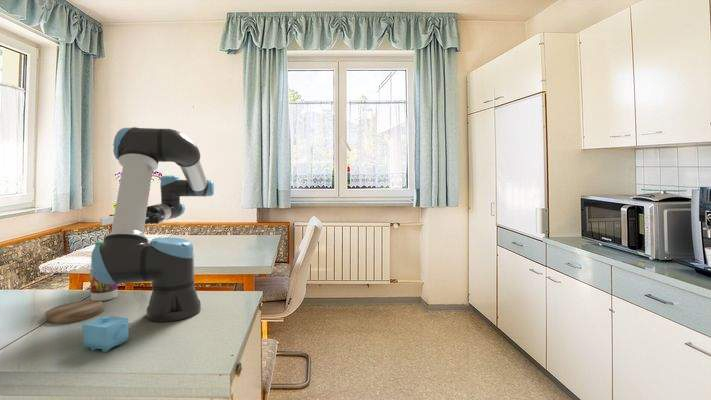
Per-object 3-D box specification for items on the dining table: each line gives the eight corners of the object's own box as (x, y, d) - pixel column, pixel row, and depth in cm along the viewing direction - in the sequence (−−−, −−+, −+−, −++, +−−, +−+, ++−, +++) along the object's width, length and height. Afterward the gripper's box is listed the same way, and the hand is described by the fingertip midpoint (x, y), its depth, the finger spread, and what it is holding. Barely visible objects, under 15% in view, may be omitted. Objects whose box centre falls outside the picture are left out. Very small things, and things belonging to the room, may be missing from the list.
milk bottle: (88, 298, 124) (87, 241, 124) (114, 293, 130) (113, 239, 129) (93, 303, 119) (92, 244, 118) (120, 298, 125) (119, 241, 124)
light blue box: (139, 344, 90) (138, 315, 90) (118, 355, 84) (117, 324, 84) (102, 339, 93) (101, 310, 93) (78, 349, 87) (77, 319, 87)
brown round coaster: (114, 309, 114) (114, 302, 114) (68, 326, 101) (67, 319, 101) (82, 304, 118) (81, 298, 118) (33, 320, 105) (33, 313, 105)
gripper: (184, 223, 151) (150, 234, 130) (130, 220, 153) (88, 231, 132) (183, 206, 150) (149, 214, 129) (129, 203, 152) (86, 211, 131)
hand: (118, 222), depth 131 cm, fingers open, 13 cm apart
